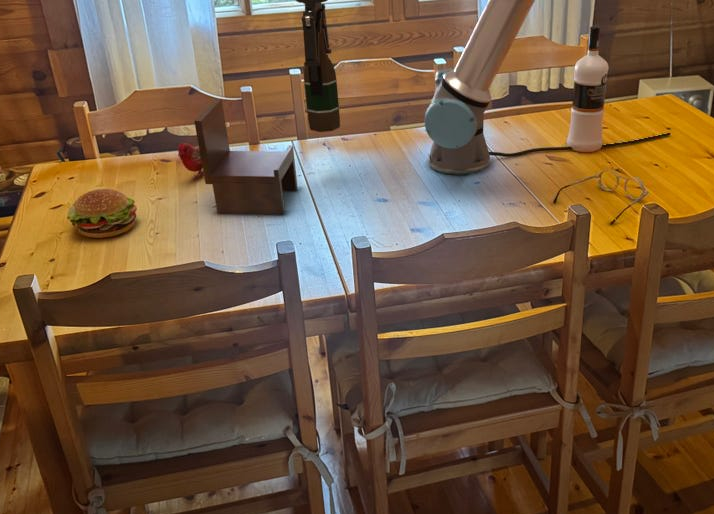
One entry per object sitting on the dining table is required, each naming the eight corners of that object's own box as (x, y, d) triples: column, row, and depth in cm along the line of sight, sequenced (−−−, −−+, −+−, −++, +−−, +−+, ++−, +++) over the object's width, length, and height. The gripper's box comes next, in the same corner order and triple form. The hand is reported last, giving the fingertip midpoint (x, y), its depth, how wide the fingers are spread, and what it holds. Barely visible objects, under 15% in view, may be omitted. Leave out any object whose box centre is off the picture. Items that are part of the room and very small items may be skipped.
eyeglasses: (653, 204, 183) (656, 183, 180) (613, 225, 174) (615, 204, 171) (591, 184, 193) (593, 163, 190) (550, 203, 184) (552, 182, 181)
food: (88, 213, 183) (79, 179, 179) (148, 215, 182) (140, 181, 177) (58, 240, 172) (48, 205, 167) (122, 242, 170) (114, 207, 166)
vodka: (580, 138, 218) (591, 20, 202) (609, 146, 213) (622, 26, 196) (559, 147, 213) (568, 26, 196) (587, 156, 208) (599, 32, 191)
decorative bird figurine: (179, 187, 195) (171, 146, 189) (214, 160, 209) (208, 122, 203) (190, 188, 194) (182, 147, 188) (224, 161, 208) (218, 122, 203)
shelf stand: (297, 188, 193) (287, 99, 181) (283, 215, 181) (271, 121, 169) (229, 187, 194) (215, 98, 182) (210, 213, 182) (194, 120, 170)
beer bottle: (335, 133, 186) (325, 22, 173) (303, 131, 188) (291, 21, 174) (345, 122, 193) (336, 14, 179) (314, 120, 194) (303, 13, 181)
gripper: (303, -28, 181) (313, 76, 194) (282, -10, 164) (295, 103, 177) (336, -28, 181) (344, 76, 194) (318, -10, 164) (329, 103, 177)
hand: (321, 89), depth 185 cm, fingers closed on beer bottle, 8 cm apart
